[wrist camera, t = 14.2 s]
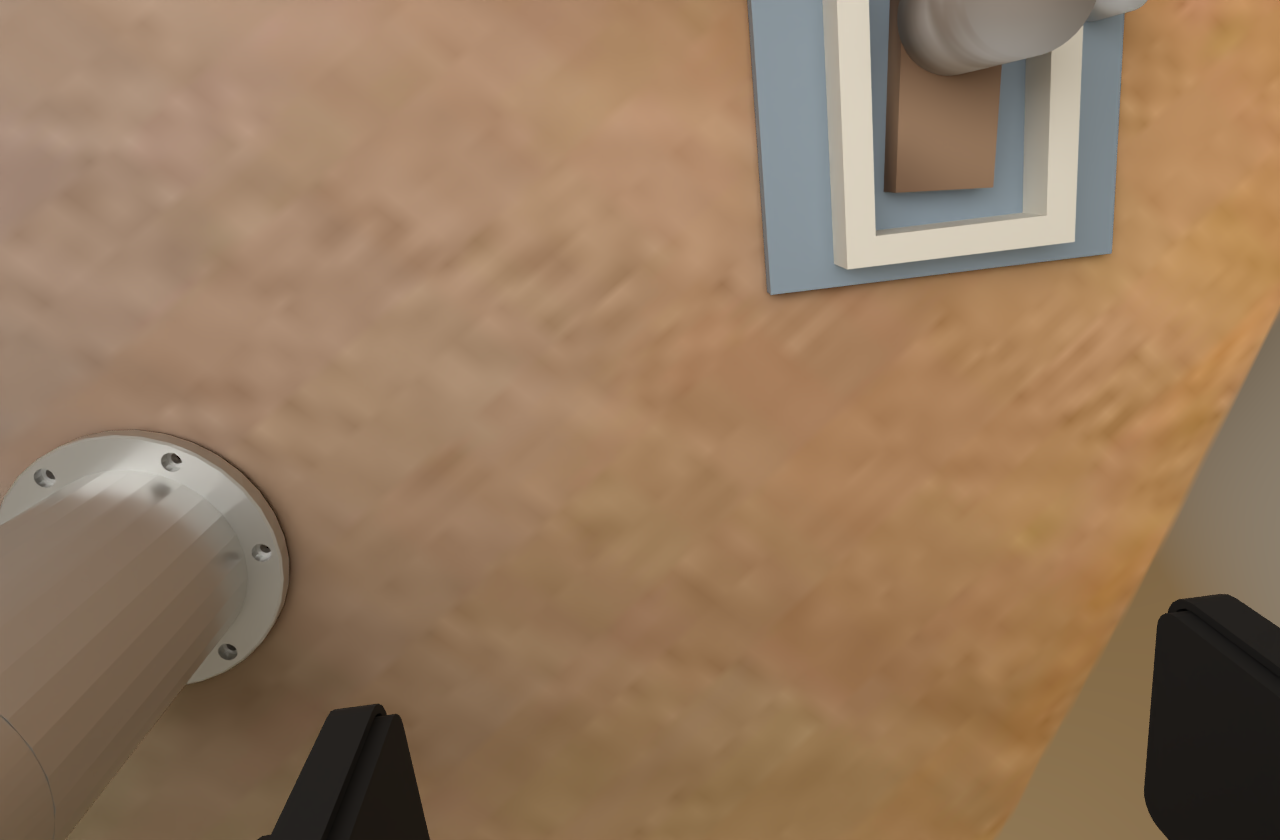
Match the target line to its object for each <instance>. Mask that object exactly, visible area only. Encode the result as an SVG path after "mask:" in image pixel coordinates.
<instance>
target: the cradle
mask: <svg viewBox="0 0 1280 840" xmlns="http://www.w3.org/2000/svg"><path fill="white" fill-rule="evenodd" d="M1146 1H1147V0H1096V2H1095V5H1094V7H1093V9H1092V11H1091V13H1090V15H1089V17H1088V18H1087V20H1086V21H1085V23H1084V24H1083V26H1082V27H1081V28H1080V29H1079V31H1078V32H1077V33H1076V34H1075V35H1074V36H1073V37H1072V38H1071V39H1070V40H1068V41H1067V42H1066V43H1064V44H1063V45H1062V46H1060V47H1058V48H1056V49H1055V50H1053V51H1050V52H1048V53H1046V54H1042V55H1039V56H1035V57H1031V58H1026V59H1022V60H1018V61H1014V62H1010V63H1006V64H1002V69H1001V84H1000V98H999V113H998V127H997V141H996V156H995V170H994V185H993V187H992V188H974V189H956V190H939V191H921V192H903V193H892V192H884V163H885V132H886V101H887V70H888V39H889V8H890V0H747V2H748V17H749V31H750V46H751V61H752V75H753V90H754V105H755V119H756V134H757V149H758V163H759V178H760V193H761V207H762V222H763V237H764V251H765V266H766V281H767V292H768V293H769V294H770V295H774V294H782V293H790V292H799V291H807V290H815V289H823V288H831V287H840V286H848V285H856V284H864V283H872V282H880V281H889V280H897V279H905V278H913V277H921V276H930V275H938V274H946V273H954V272H962V271H971V270H979V269H987V268H995V267H1003V266H1012V265H1020V264H1028V263H1036V262H1044V261H1052V260H1061V259H1069V258H1077V257H1085V256H1093V255H1102V254H1110V253H1112V239H1113V220H1114V202H1115V183H1116V164H1117V145H1118V126H1119V107H1120V88H1121V70H1122V51H1123V32H1124V13H1126V12H1130V11H1133V10H1136V9H1138V8H1140V7H1141V6H1143V5H1144V4H1145V3H1146Z"/></svg>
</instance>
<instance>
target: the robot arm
mask: <svg viewBox="0 0 1280 840" xmlns="http://www.w3.org/2000/svg"><path fill="white" fill-rule="evenodd" d="M176 455H177V456H179V457H180V459H181V460H179V459H178V458H177V457H176ZM264 545H266V546H267V547H269V548H270V549H268V548H266V547H265V546H264ZM288 585H289V556H288V552H287V547H286V542H285V537H284V534H283V532H282V530H281V527H280V525H279V523H278V520H277V518H276V516H275V513H274V512H273V510H272V509H271V507H270V506H269V504H268V503H267V502H266V500H265V499H264V497H263V496H262V494H261V493H260V491H259V490H258V489H257V488H256V487H255V486H254V485H253V484H252V483H251V482H250V481H249V480H248V479H247V478H246V477H245V476H244V475H243V474H242V473H241V472H240V471H239V470H237V469H236V468H235V467H233V466H232V465H231V464H229V463H228V462H227V461H225V460H224V459H222V458H221V457H220V456H218V455H216V454H214V453H213V452H211V451H209V450H207V449H205V448H203V447H201V446H199V445H197V444H195V443H193V442H190V441H187V440H183V439H180V438H177V437H174V436H171V435H168V434H164V433H157V432H150V431H142V430H112V431H105V432H100V433H96V434H91V435H86V436H82V437H80V438H78V439H75V440H73V441H71V442H68V443H66V444H64V445H62V446H59V447H57V448H56V449H54V450H52V451H51V452H49V453H47V454H46V455H44V456H42V457H40V458H39V459H37V460H36V461H35V462H33V463H32V464H31V465H30V466H29V467H28V468H27V469H26V470H25V471H24V472H22V473H21V474H20V475H19V476H18V477H17V479H16V480H15V482H14V483H13V485H12V486H11V488H10V489H9V490H8V492H7V493H6V495H5V496H4V499H3V501H2V504H1V507H0V840H65V839H66V838H67V836H68V835H69V834H70V833H71V831H72V830H73V829H74V827H75V826H76V825H77V824H78V822H79V821H80V820H81V818H82V817H83V816H84V815H85V813H86V812H87V811H88V809H89V808H90V807H91V805H92V804H93V803H94V802H95V800H96V799H97V798H98V796H99V795H100V794H101V793H102V791H103V790H104V789H105V787H106V786H107V785H108V784H109V782H110V781H111V780H112V778H113V777H114V776H115V775H116V773H117V772H118V771H119V769H120V768H121V767H122V766H123V764H124V763H125V762H126V760H127V759H128V758H129V757H130V755H131V754H132V753H133V751H134V750H135V749H136V748H137V746H138V745H139V744H140V742H141V741H142V740H143V739H144V737H145V736H146V735H147V733H148V732H149V731H150V730H151V728H152V727H153V726H154V724H155V723H156V722H157V721H158V719H159V718H160V717H161V715H162V714H163V713H164V712H165V710H166V709H167V708H168V706H169V705H170V704H171V703H172V701H173V700H174V699H175V697H176V696H177V695H178V694H179V692H180V691H181V690H182V688H183V687H184V686H185V685H188V684H192V683H197V682H201V681H205V680H207V679H210V678H212V677H214V676H217V675H219V674H222V673H224V672H226V671H228V670H229V669H231V668H232V667H234V666H235V665H237V664H238V663H240V662H242V661H243V660H245V659H246V658H247V657H248V656H249V655H250V654H251V653H252V652H253V651H254V650H255V649H256V648H257V647H258V646H259V645H260V644H261V643H262V641H263V640H264V638H265V637H266V636H267V634H268V633H269V631H270V630H271V628H272V627H273V626H274V624H275V622H276V620H277V618H278V616H279V614H280V612H281V610H282V608H283V606H284V602H285V598H286V594H287V589H288ZM1149 723H1150V724H1149V735H1148V748H1147V760H1146V773H1145V786H1144V797H1145V802H1146V805H1147V808H1148V811H1149V813H1150V815H1151V817H1152V819H1153V821H1154V822H1155V824H1156V825H1157V827H1158V828H1159V829H1160V830H1161V831H1162V832H1163V834H1164V835H1165V836H1166V837H1167V838H1168V840H1280V628H1279V627H1278V626H1276V625H1275V624H1273V623H1272V622H1270V621H1269V620H1267V619H1266V618H1264V617H1263V616H1261V615H1260V614H1258V613H1257V612H1255V611H1254V610H1252V609H1251V608H1249V607H1248V606H1247V605H1245V604H1244V603H1242V602H1240V601H1239V600H1238V599H1236V598H1234V597H1232V596H1230V595H1228V594H1227V595H1226V594H1218V595H1210V596H1202V597H1194V598H1188V599H1179V600H1177V601H1175V602H1173V603H1172V604H1171V606H1170V608H1169V610H1168V613H1165V614H1164V615H1162V616H1161V617H1160V619H1159V620H1158V625H1157V634H1156V647H1155V660H1154V672H1153V684H1152V697H1151V709H1150V722H1149ZM258 840H430V838H429V834H428V830H427V825H426V821H425V817H424V813H423V808H422V804H421V800H420V795H419V791H418V787H417V782H416V778H415V774H414V770H413V765H412V761H411V757H410V752H409V748H408V744H407V740H406V735H405V731H404V727H403V723H402V720H401V718H400V716H399V715H398V714H392V715H387V714H386V711H385V709H384V708H383V706H382V705H380V704H373V705H365V706H358V707H350V708H342V709H335V710H333V711H331V712H330V714H329V715H328V717H327V719H326V721H325V723H324V725H323V727H322V729H321V731H320V733H319V735H318V737H317V740H316V742H315V744H314V746H313V748H312V750H311V752H310V754H309V756H308V758H307V760H306V763H305V765H304V767H303V769H302V771H301V773H300V775H299V777H298V779H297V781H296V784H295V786H294V788H293V790H292V792H291V794H290V796H289V798H288V800H287V802H286V805H285V807H284V809H283V811H282V813H281V815H280V817H279V819H278V821H277V823H276V826H275V828H274V830H273V832H272V834H271V835H266V836H262V837H260V838H259V839H258Z"/></svg>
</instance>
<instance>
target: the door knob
mask: <svg viewBox="0 0 1280 840" xmlns="http://www.w3.org/2000/svg"><path fill="white" fill-rule="evenodd" d="M1095 2H1096V0H890V8H889V39H888V70H887V101H886V132H885V163H884V192H892V193H903V192H921V191H939V190H956V189H974V188H992V187H993V185H994V170H995V156H996V141H997V127H998V113H999V98H1000V84H1001V69H1002V64H1006V63H1010V62H1014V61H1018V60H1022V59H1026V58H1031V57H1035V56H1039V55H1042V54H1046V53H1048V52H1050V51H1053V50H1055V49H1056V48H1058V47H1060V46H1062V45H1063V44H1064V43H1066V42H1067V41H1068V40H1070V39H1071V38H1072V37H1073V36H1074V35H1075V34H1076V33H1077V32H1078V31H1079V29H1080V28H1081V27H1082V26H1083V24H1084V23H1085V21H1086V20H1087V18H1088V17H1089V15H1090V13H1091V11H1092V9H1093V7H1094V5H1095Z"/></svg>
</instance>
